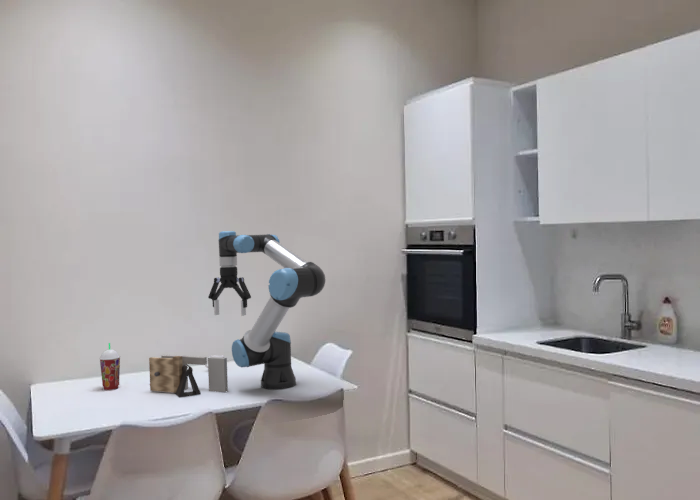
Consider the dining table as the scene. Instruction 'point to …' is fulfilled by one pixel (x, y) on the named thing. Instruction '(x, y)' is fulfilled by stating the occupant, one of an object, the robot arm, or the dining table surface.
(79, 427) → the dining table surface
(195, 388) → the phone stand
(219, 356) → the cup
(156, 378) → the door
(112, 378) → the smoothie
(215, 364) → the wall
